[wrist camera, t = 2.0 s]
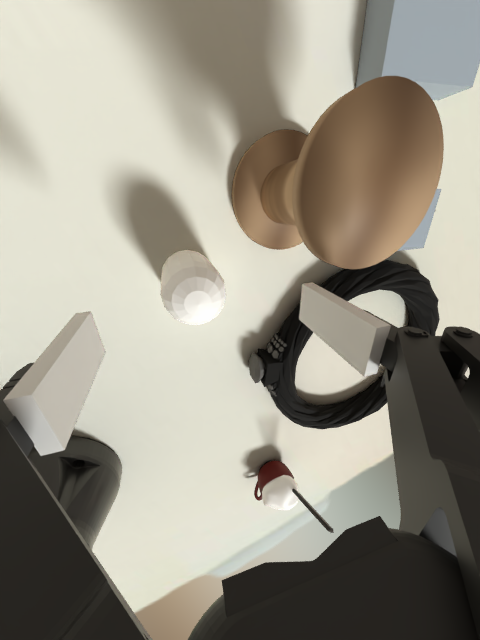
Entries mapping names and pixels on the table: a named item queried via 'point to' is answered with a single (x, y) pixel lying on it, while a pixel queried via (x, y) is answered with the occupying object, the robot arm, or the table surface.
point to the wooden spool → (346, 176)
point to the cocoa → (281, 489)
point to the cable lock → (289, 342)
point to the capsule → (192, 288)
